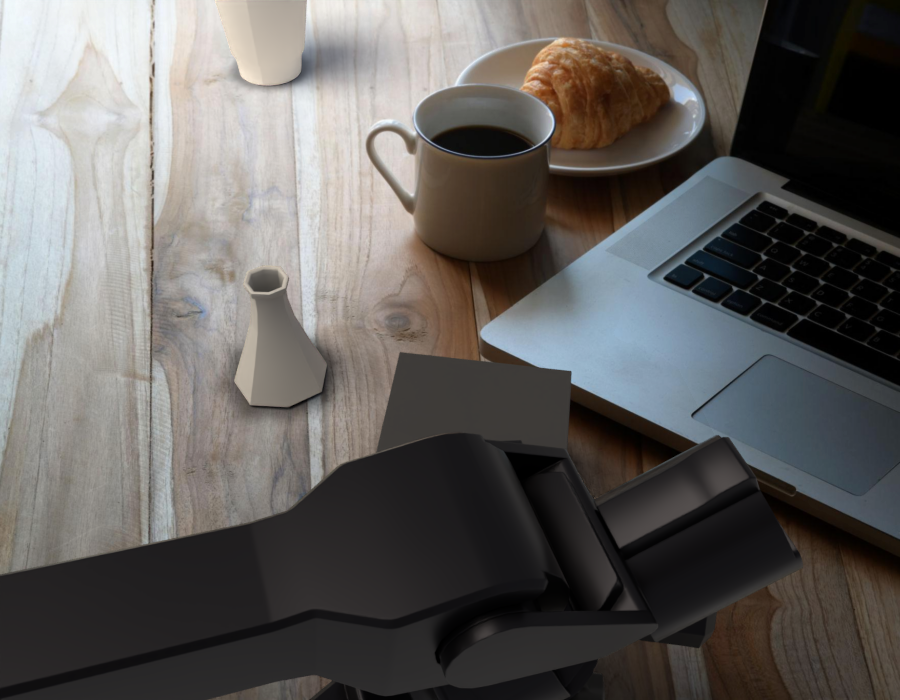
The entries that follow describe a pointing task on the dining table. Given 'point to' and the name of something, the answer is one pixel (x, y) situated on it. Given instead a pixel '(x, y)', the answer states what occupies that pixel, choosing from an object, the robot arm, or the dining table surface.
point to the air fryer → (476, 401)
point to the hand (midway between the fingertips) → (523, 521)
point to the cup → (265, 37)
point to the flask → (276, 346)
